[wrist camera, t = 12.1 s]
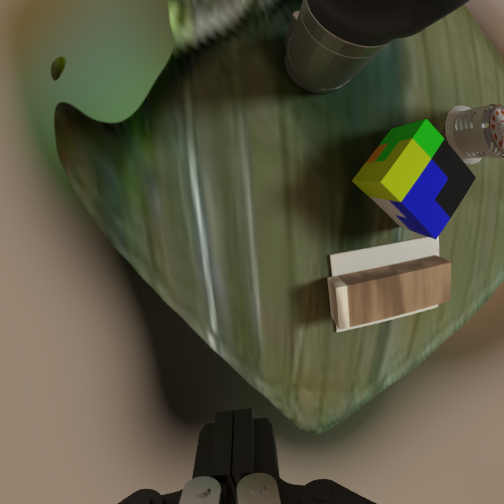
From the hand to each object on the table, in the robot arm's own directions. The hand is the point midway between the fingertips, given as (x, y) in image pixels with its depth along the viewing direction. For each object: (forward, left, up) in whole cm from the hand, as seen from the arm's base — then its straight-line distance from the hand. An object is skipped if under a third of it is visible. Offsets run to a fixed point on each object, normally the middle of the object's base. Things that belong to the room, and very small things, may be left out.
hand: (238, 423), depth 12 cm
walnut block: (+11, +8, -29) cm, 32 cm away
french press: (-3, +41, -32) cm, 52 cm away
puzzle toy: (-1, +24, -32) cm, 40 cm away
